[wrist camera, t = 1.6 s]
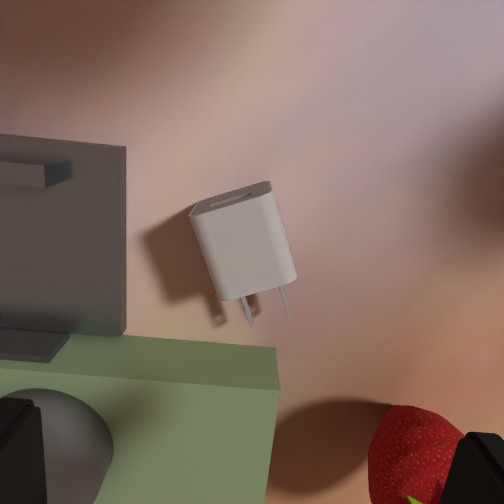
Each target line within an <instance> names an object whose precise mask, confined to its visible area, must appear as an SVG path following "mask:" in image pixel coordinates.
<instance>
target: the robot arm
mask: <svg viewBox="0 0 504 504" xmlns="http://www.w3.org/2000/svg"><path fill="white" fill-rule="evenodd" d="M0 504H47V487H46V473H45V459H44V445H43V431H42V417H41V409H40V408H39V407H35V406H34V402H33V401H32V400H31V399H24V398H11V397H3V398H0ZM439 504H504V440H503V439H502V438H501V437H500V436H499V435H497V434H495V433H482V432H468V433H467V434H466V435H465V437H464V438H461V439H460V440H459V441H458V444H457V447H456V450H455V453H454V456H453V460H452V463H451V466H450V469H449V472H448V476H447V479H446V482H445V485H444V489H443V492H442V495H441V498H440V501H439Z"/></svg>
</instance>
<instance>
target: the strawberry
mask: <svg viewBox="0 0 504 504" xmlns="http://www.w3.org/2000/svg"><path fill="white" fill-rule="evenodd" d="M464 437H465V435H464V434H462V433H461V432H460V431H459V430H458V429H457V428H455V427H454V426H453V425H452V424H451V423H450V422H448V421H447V420H446V419H444V418H443V417H442V416H440V415H438V414H436V413H434V412H431V411H428V410H424V409H421V408H418V407H414V406H400V405H394V406H391V407H390V408H389V409H388V410H387V412H386V414H385V416H384V417H383V418H382V419H381V421H380V423H379V425H378V427H377V430H376V432H375V435H374V437H373V440H372V442H371V444H370V448H369V453H368V481H369V494H370V499H371V502H372V504H439V501H440V498H441V495H442V492H443V489H444V485H445V482H446V479H447V476H448V472H449V469H450V466H451V463H452V460H453V456H454V453H455V450H456V447H457V444H458V441H459V440H460V439H461V438H464Z"/></svg>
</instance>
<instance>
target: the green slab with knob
mask: <svg viewBox="0 0 504 504" xmlns="http://www.w3.org/2000/svg"><path fill="white" fill-rule="evenodd" d="M3 397H11V398H24V399H31V400H32V401H33V402H34V406H35V407H39V408H40V409H41V417H42V431H43V445H44V459H45V473H46V487H47V504H264V501H265V494H266V487H267V480H268V473H269V466H270V459H271V452H272V445H273V438H274V431H275V425H276V418H277V411H278V404H279V397H280V383H279V374H278V365H277V356H276V348H268V347H256V346H244V345H233V344H221V343H209V342H197V341H185V340H173V339H161V338H149V337H137V336H126V335H122V336H121V337H116V336H104V335H93V334H81V333H69V332H57V331H45V330H33V329H21V328H9V327H0V398H3Z"/></svg>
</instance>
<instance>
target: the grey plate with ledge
mask: <svg viewBox="0 0 504 504" xmlns="http://www.w3.org/2000/svg"><path fill="white" fill-rule="evenodd" d="M0 327H9V328H21V329H33V330H45V331H57V332H69V333H81V334H93V335H104V336H116V337H121V336H122V335H123V333H124V331H125V330H126V147H125V146H115V145H105V144H95V143H85V142H75V141H65V140H55V139H45V138H35V137H25V136H15V135H5V134H0Z"/></svg>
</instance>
